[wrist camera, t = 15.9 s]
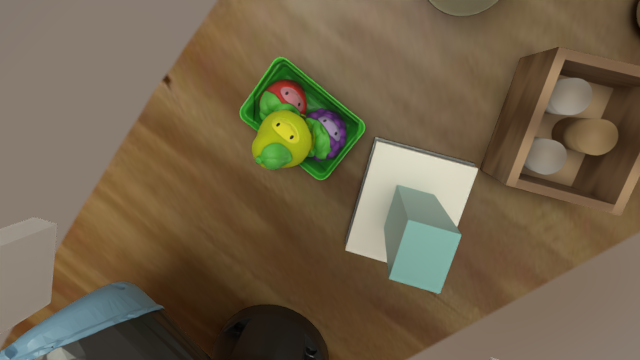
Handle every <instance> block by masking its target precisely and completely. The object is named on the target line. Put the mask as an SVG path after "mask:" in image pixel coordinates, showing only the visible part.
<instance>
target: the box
mask: <svg viewBox="0 0 640 360" xmlns="http://www.w3.org/2000/svg"><path fill="white" fill-rule="evenodd" d="M480 169H481V170H482V171H484V172H486V173H487V174H489V175H490V176H492V177H494V178H495V179H497V180H499V181H500V182H502V183H503V184H505V185H508V186H511V187H515V188H519V189H523V190H526V191H530V192H534V193H537V194H541V195H545V196H548V197H552V198H556V199H559V200H563V201H567V202H570V203H574V204H578V205H582V206H585V207H589V208H593V209H596V210H600V211H604V212H607V213H611V214H615V215H618V216H621V214H622V212H623V210H624V208H625V206H626V203H627V201H628V199H629V197H630V195H631V193H632V191H633V189H634V187H635V184H636V182H637V180H638V178H639V176H640V66H637V65H633V64H629V63H625V62H620V61H616V60H612V59H608V58H604V57H600V56H595V55H591V54H587V53H583V52H579V51H575V50H570V49H566V48H562V47H557V48H553V49H550V50H547V51H543V52H540V53H536V54H533V55H530V56H526V57H523V58H521V59H520V61H519V64H518V67H517V69H516V72H515V75H514V78H513V80H512V83H511V86H510V89H509V91H508V94H507V97H506V100H505V102H504V105H503V108H502V111H501V113H500V116H499V119H498V121H497V124H496V127H495V130H494V132H493V135H492V138H491V141H490V143H489V146H488V149H487V152H486V154H485V157H484V160H483V162H482V165H481V168H480Z"/></svg>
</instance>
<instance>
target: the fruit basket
mask: <svg viewBox="0 0 640 360" xmlns="http://www.w3.org/2000/svg"><path fill="white" fill-rule="evenodd" d="M239 113H240V117H241V119H242V120H243V121H244V122H245V123H247V124H248V125H249V126H251V127H252V128H253V129H254V130H256V131H257V132H258V133H257V137H256V138H255V140H254V141H253V144H252V154H253V157H254V159H255V162H256V163H257V164H259V165H260V166H262V167H263V168H266V169H270V170H276V169H279V168H289V167H293V166H296V165H299V166H301V167H302V168H303V169H304V170H306V171H307V172H308V173H309V174H311V175H312V176H313V177H314V178H316V179H318V180H324V179H326V178H327V177H328V176H329V175H330V174H331V172H332V171H333V170H334V169H335V167H336V166H337V165H338V164H339V162H340V161H341V160H342V159H343V158H344V156H345V155H346V154H347V153H348V151H349V150H350V149H351V148H352V146H353V145H354V144H355V143H356V142H357V140H358V139H359V138H360V137H361V136H362V134H363V133H364V131H365V124H364V122H363V121H362V120H361V119H360V118H359V117H357V116H356V115H355V114H354V113H352V112H351V111H350V110H349V109H347V108H346V107H345V106H344V105H342V104H341V103H340V102H339V101H337V100H336V99H335V98H334V97H333V96H331V95H330V94H329V93H328V92H327V91H325V90H324V89H323V88H322V87H321V86H319V85H318V84H317V83H316V82H314V81H313V80H312V79H311V78H309V77H308V76H307V75H306V74H305V73H303V72H302V71H301V70H300V69H299V68H297V67H296V66H295V65H294V64H293V63H291V62H290V61H289V60H288V59H286V58H284V57H278V58H276V59H275V60H274V61H273V62H272V64H271V65H270V67H269V68H268V70H267V71H266V73H265V74H264V76H263V77H262V78H261V80H260V81H259V83H258V84H257V86H256V87H255V89H254V90H253V91H252V93H251V94H250V96H249V97H248V98H247V100H246V101H245V103H244V104H243V105H242V107H241V109H240V112H239Z"/></svg>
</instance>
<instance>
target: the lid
mask: <svg viewBox="0 0 640 360" xmlns="http://www.w3.org/2000/svg"><path fill="white" fill-rule="evenodd" d="M477 171H478V168H476V167H473V166H470V165H466V164H462V163H458V162H455V161H451V160H447V159H444V158H440V157H436V156H432V155H429V154H425V153H421V152H417V151H414V150H410V149H406V148H403V147H399V146H395V145H391V144H388V143H384V142H380V141H377V142H376V145H375V149H374V152H373V155H372V159H371V162H370V166H369V169H368V173H367V176H366V179H365V183H364V186H363V190H362V193H361V197H360V200H359V204H358V207H357V210H356V214H355V217H354V221H353V224H352V228H351V231H350V234H349V238H348V241H347V245H346V249H345V250H346V251H349V252H353V253H356V254H359V255H363V256H366V257H370V258H373V259H376V260H380V261H383V262H387V265H388V275H389V279H391V280H394V281H398V282H401V283H404V284H408V285H411V286H415V287H418V288H421V289H425V290H428V291H431V292H435V293H438V294H440V292H441V289H442V287H443V284H444V281H445V279H446V276H447V273H448V271H449V268H450V265H451V262H452V260H453V257H454V254H455V252H456V249H457V246H458V243H459V241H460V238H461V235H462V234H461V233H460V231H459V230H458V229H457V226H458V223H459V220H460V218H461V215H462V212H463V209H464V207H465V204H466V201H467V198H468V196H469V193H470V190H471V187H472V185H473V182H474V179H475V176H476V174H477Z"/></svg>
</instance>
